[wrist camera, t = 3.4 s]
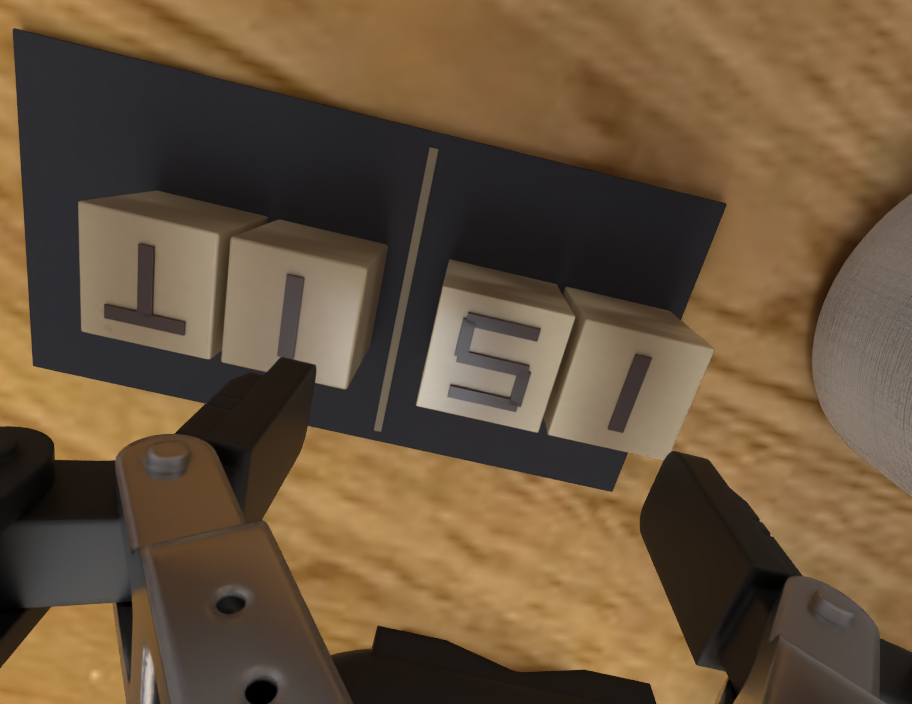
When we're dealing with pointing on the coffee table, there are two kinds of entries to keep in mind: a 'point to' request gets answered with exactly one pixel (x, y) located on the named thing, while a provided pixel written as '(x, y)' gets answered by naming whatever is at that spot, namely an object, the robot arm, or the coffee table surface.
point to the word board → (337, 210)
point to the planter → (871, 348)
